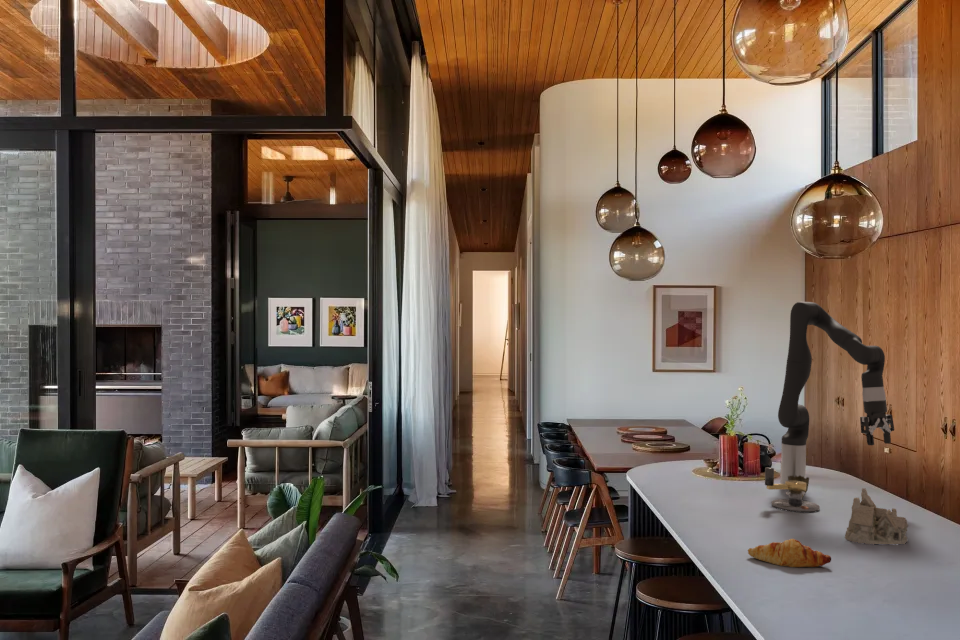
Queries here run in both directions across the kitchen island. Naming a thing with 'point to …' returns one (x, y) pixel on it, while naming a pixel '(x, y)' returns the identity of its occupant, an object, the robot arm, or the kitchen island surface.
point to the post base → (795, 503)
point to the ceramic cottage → (875, 523)
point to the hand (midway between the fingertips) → (879, 444)
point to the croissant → (789, 554)
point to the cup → (799, 478)
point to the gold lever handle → (788, 484)
